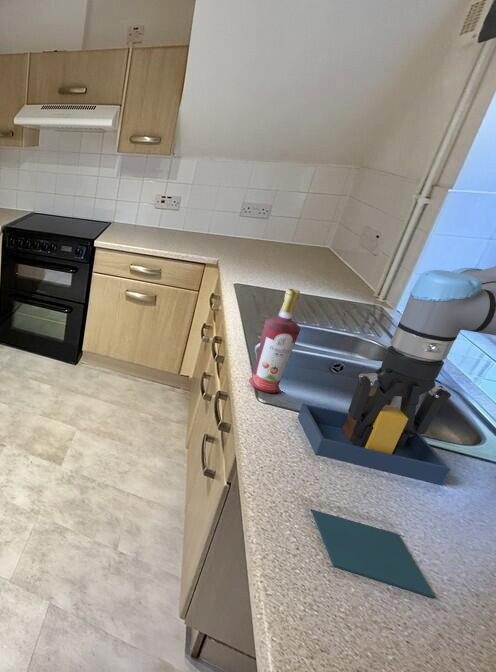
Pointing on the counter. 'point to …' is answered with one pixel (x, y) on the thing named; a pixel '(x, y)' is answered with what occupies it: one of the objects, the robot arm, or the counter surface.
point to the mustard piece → (386, 429)
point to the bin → (332, 443)
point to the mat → (370, 553)
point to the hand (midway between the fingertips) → (371, 451)
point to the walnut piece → (351, 422)
